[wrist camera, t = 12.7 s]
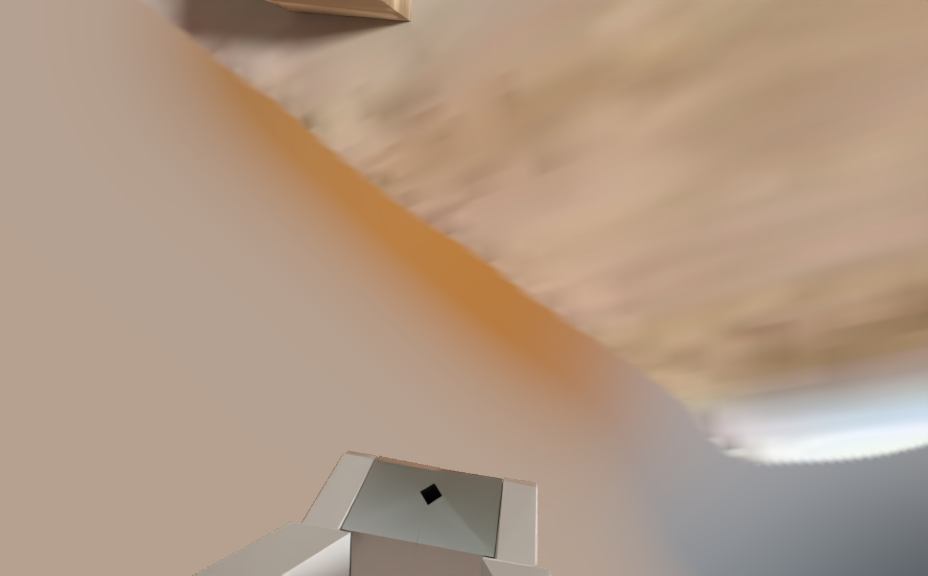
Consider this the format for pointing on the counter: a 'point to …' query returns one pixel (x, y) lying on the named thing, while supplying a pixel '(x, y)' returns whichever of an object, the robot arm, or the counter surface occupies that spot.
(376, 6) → the box
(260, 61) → the counter surface
